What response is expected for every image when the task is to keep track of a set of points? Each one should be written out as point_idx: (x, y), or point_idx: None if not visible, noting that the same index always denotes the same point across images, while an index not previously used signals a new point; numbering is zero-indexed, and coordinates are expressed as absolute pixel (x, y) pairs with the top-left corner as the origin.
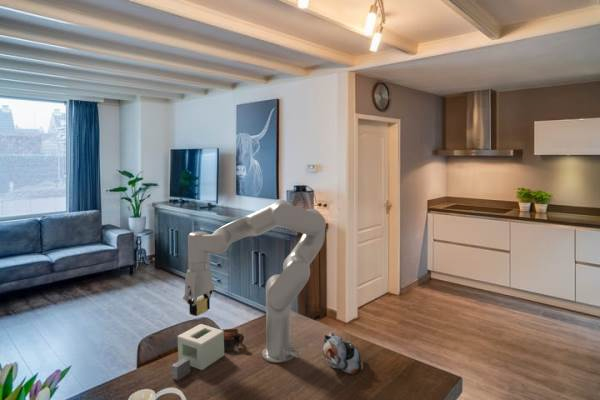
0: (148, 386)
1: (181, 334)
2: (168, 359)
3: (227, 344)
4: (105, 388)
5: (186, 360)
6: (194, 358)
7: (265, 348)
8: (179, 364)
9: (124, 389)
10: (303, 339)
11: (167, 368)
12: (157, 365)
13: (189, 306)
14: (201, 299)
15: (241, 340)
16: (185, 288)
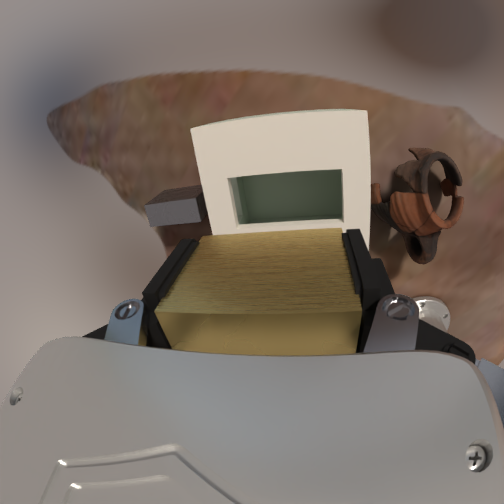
0: (112, 174)
1: (212, 129)
2: (211, 83)
3: (385, 215)
4: (57, 113)
5: (188, 219)
6: (237, 198)
7: (420, 303)
8: (161, 220)
9: (77, 145)
10: (483, 325)
11: (179, 131)
12: (168, 92)
13: (156, 274)
14: (284, 348)
15: (412, 259)
16: (4, 427)
